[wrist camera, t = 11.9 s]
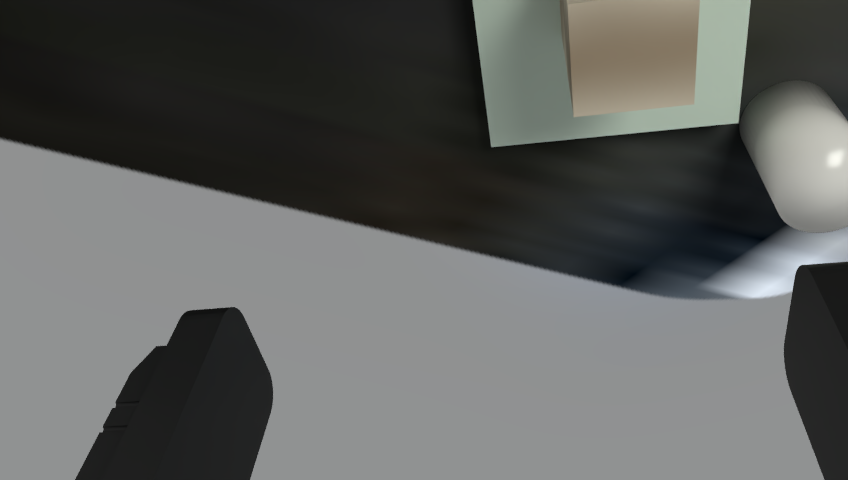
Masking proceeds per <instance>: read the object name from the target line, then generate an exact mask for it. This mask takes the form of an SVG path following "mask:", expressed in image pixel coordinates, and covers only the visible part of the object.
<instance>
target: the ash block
mask: <svg viewBox="0 0 848 480" xmlns="http://www.w3.org/2000/svg"><path fill="white" fill-rule="evenodd" d="M699 6H700V0H560V15H561V31H562V42H563V48H564V55H565V62H566V69H567V76H568V82H569V89H570V96H571V103H572V109H573V116H574V117H581V116H590V115H600V114H609V113H618V112H628V111H637V110H646V109H655V108H665V107H674V106H683V105H693V104H694V99H695V81H696V62H697V44H698V25H699Z"/></svg>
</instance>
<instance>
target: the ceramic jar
mask: <svg viewBox="0 0 848 480" xmlns="http://www.w3.org/2000/svg"><path fill="white" fill-rule="evenodd" d="M739 130H740V135H741V139H742V141H743V143H744V145H745V147H746V149H747V151H748V153H749V155H750V157H751V159H752V161H753V163H754V165H755V167H756V169H757V171H758V173H759V175H760V177H761V179H762V181H763V183H764V185H765V187H766V189H767V191H768V193H769V195H770V197H771V199H772V201H773V203H774V205H775V207H776V209H777V211H778V213H779V215H780V217H781V218H782V220H783V221H784V222H785V223H786V224H788V225H789V226H791V227H793V228H795V229H797V230H800V231H804V232H809V233H824V232H831V231H836V230H839V229H842V228H845V227H847V226H848V121H847V120H846V118H845V117H844V116H843V114H842V113H841V112H840V110H839V109H838V108H837V106H836V105H835V104H834V102H833V101H832V100H831V98H830V97H829V96H828V94H827V93H826V92H825V91H824V90H823V89H822V88H821V87H819V86H818V85H816V84H814V83H811V82H807V81H799V80H795V81H786V82H782V83H778V84H775V85H773V86H771V87H769V88H767V89H765V90H763V91H762V92H760V93H759V94H758V95H757V96H755V97H754V98H753V99H752V100H751V102H750V103H749V104H748V105H747V107H746V108H745V110H744V112H743V114H742V117H741V120H740V128H739Z"/></svg>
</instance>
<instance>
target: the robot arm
mask: <svg viewBox="0 0 848 480" xmlns="http://www.w3.org/2000/svg"><path fill="white" fill-rule="evenodd" d="M784 361H785V369H786V375H787V379H788V383H789V386H790V390H791V392H792V395H793V398H794V400H795V403H796V406H797V408H798V411H799V413H800V416H801V419H802V421H803V424H804V426H805V429H806V432H807V435H808V437H809V440H810V442H811V445H812V448H813V450H814V453H815V456H816V458H817V461H818V464H819V466H820V469H821V471H822V474H823V476H824V479H825V480H848V262H838V263H825V264H812V265H801V266H800V267H799V268H798V269H797V272H796V275H795V280H794V286H793V293H792V299H791V305H790V311H789V317H788V324H787V330H786V336H785V343H784ZM272 402H273V387H272V380H271V376H270V373H269V370H268V368H267V366H266V363H265V361H264V359H263V357H262V355H261V353H260V351H259V348H258V346H257V344H256V342H255V340H254V338H253V336H252V333H251V332H250V329H249V327H248V325H247V323H246V321H245V318H244V316H243V315H242V313H241V312H240V310H238V309H237V308H235V307H230V308H217V309H204V310H192V311H187V312H186V313H184V314H183V315H182V316H181V318H180V320H179V322H178V324H177V326H176V328H175V330H174V332H173V334H172V336H171V338H170V340H169V342H168V344H167V346H156V348H154V349H153V351H152V352H151V353H150V354H149V355H148V356H147V357H146V358H145V359H144V360H143V361H142V362H141V363H140V364H139V365H138V366H137V367H136V368H135V369H134V370H133V371H132V372H131V374H130V375H129V377H128V380H127V381H126V383H125V385H124V387H123V389H122V391H121V393H120V395H119V397H118V398H117V400H116V408H113V409H112V410H111V412H110V414H109V416H108V418H107V420H106V421H105V423H104V425H103V428H104V430H103V432H102V433H99V435H98V437H97V439H96V441H95V443H94V444H93V446H92V449H91V450H90V452H89V454H88V456H87V458H86V460H85V462H84V464H83V466H82V468H81V469H80V472H79V473H78V475H77V477H76V479H75V480H250V477H251V474H252V471H253V468H254V465H255V461H256V458H257V455H258V452H259V449H260V445H261V442H262V439H263V436H264V432H265V429H266V426H267V423H268V419H269V416H270V413H271V409H272Z"/></svg>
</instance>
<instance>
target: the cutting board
mask: <svg viewBox="0 0 848 480" xmlns="http://www.w3.org/2000/svg"><path fill="white" fill-rule="evenodd" d="M472 1H473V9H474V16H475V24H476V32H477V40H478V48H479V55H480V63H481V71H482V79H483V87H484V94H485V102H486V110H487V118H488V126H489V134H490V141H491V147H499V146H509V145H519V144H529V143H540V142H550V141H560V140H570V139H580V138H591V137H601V136H611V135H621V134H631V133H641V132H652V131H662V130H672V129H682V128H692V127H702V126H713V125H723V124H733V123H738V121H739V111H740V102H741V92H742V82H743V72H744V62H745V52H746V42H747V32H748V22H749V12H750V2H751V0H700V6H699V25H698V44H697V62H696V81H695V99H694V104H693V105H683V106H674V107H665V108H655V109H646V110H637V111H628V112H618V113H609V114H600V115H590V116H581V117H574V116H573V109H572V103H571V96H570V89H569V82H568V76H567V69H566V62H565V55H564V48H563V42H562V31H561V15H560V0H472Z"/></svg>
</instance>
